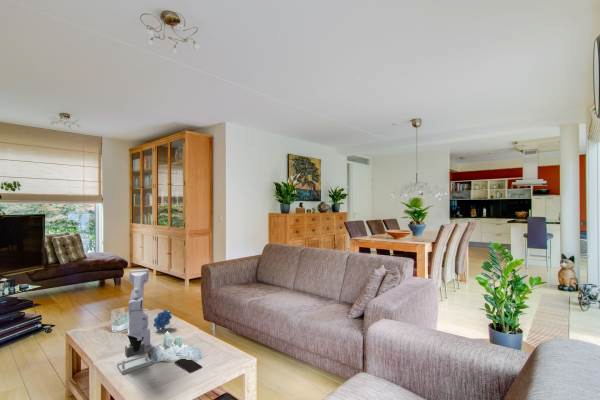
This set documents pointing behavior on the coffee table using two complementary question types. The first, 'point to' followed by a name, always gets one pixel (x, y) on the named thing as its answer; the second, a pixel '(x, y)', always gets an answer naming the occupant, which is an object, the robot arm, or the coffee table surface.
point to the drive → (130, 351)
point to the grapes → (162, 319)
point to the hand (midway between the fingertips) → (135, 349)
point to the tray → (134, 364)
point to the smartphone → (188, 365)
